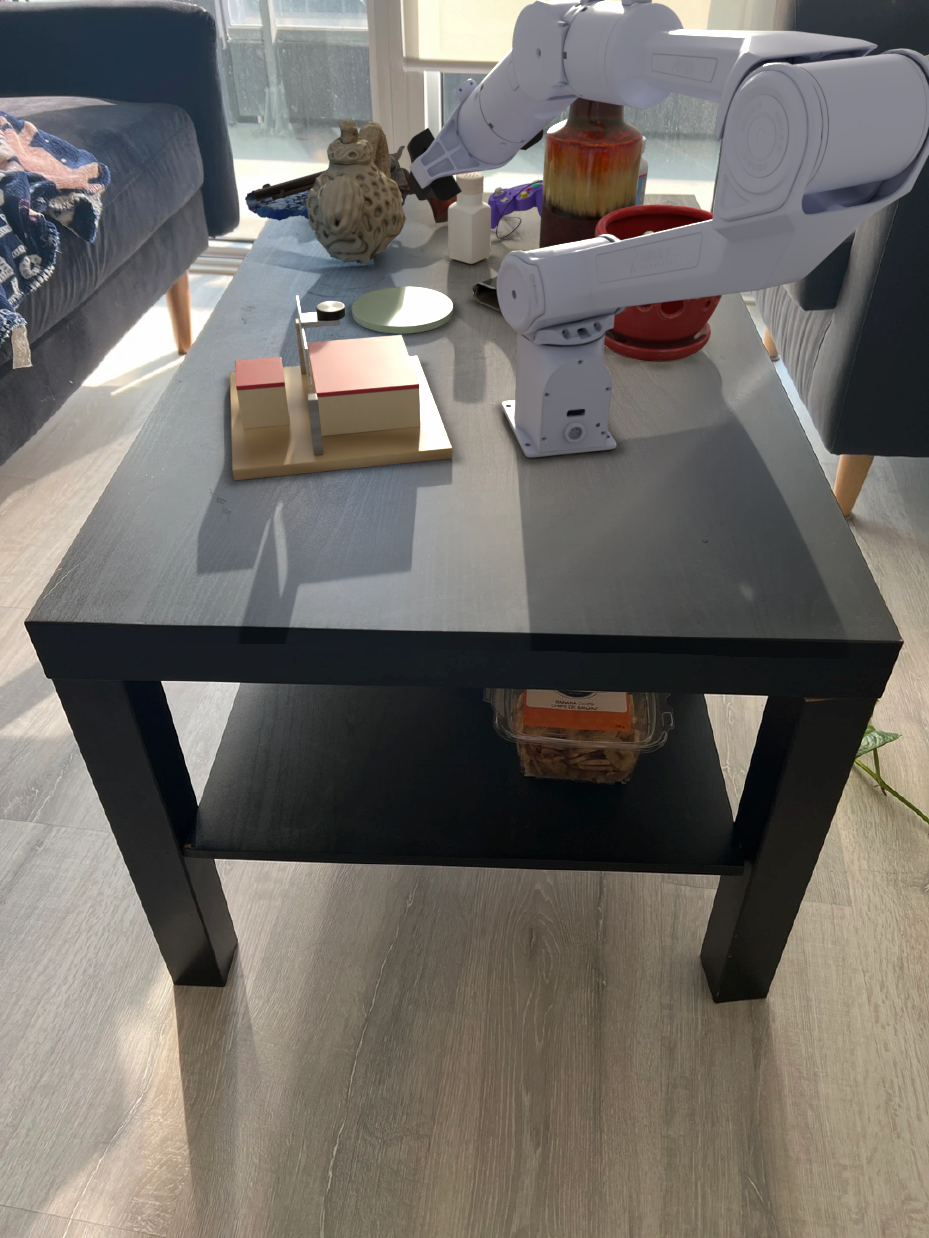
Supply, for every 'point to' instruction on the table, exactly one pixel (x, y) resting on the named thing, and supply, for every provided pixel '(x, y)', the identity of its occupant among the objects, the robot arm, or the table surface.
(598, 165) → the vase
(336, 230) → the teapot
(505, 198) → the game controller
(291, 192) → the revolver
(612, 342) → the flower pot
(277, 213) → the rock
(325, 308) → the blade
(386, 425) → the red and beige block
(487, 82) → the robot arm
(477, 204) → the pepper shaker
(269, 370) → the cake slice
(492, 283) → the camera
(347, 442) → the board
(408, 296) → the plate
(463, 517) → the table surface
